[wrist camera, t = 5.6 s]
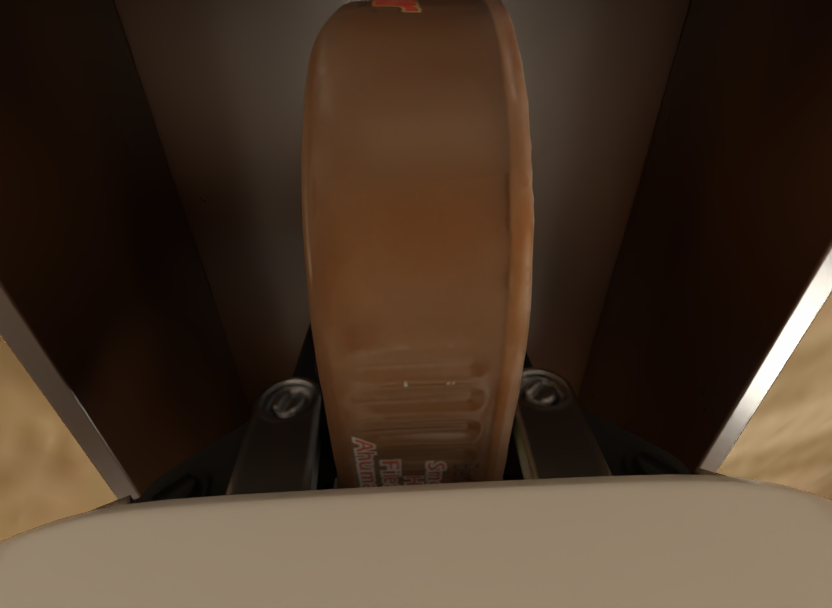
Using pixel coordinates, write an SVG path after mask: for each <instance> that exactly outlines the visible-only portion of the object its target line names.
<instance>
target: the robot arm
mask: <svg viewBox="0 0 832 608" xmlns="http://www.w3.org/2000/svg"><path fill="white" fill-rule="evenodd" d="M0 608H832V500H830V499H828V498H825V497H822V496H819V495H816V494H813V493H810V492H807V491H803V490H799V489H795V488H791V487H788V486H784V485H780V484H776V483H770V482H764V481H758V480H752V479H747V478H741V477H729V476H725V475H722V474H718V473H715V472H712V471H708V470H705V469H702V468H698V467H696V469H695V470H694V472H692V471H689V470H688V469H687V467H686V466H685V465H684V464H683V463H682V462H681V461H679V460H678V459H677V458H676V457H675V456H673V455H672V454H670V453H668V452H667V451H665V450H664V449H662V448H660V447H658V446H656V445H654V444H652V443H650V442H648V441H646V440H644V439H642V438H640V437H638V436H636V435H634V434H632V433H630V432H628V431H626V430H624V429H622V428H620V427H618V426H616V425H614V424H612V423H610V422H608V421H606V420H604V419H602V418H600V417H599V416H597V415H595V414H593V413H591V412H589V411H587V410H585V409H583V408H582V407H581V405H580V403H579V400H578V398H577V396H576V394H575V391H574V389H573V387H572V386H571V384H570V383H569V382H568V381H567V380H566V379H565V378H564V377H563V376H561V375H559V374H558V373H556V372H554V371H551V370H548V369H545V368H537V367H533V366H532V363H531V361H530V359H529V357H528V355H527V352H526V354H525V360H524V366H523V372H522V379H521V385H520V391H519V397H518V402H517V406H516V410H515V415H514V420H513V425H512V430H511V435H510V440H509V445H508V453H507V460H506V465H505V469H504V474H503V479H502V481H484V482H463V483H443V484H422V485H403V486H383V487H363V488H344V489H338V479H337V470H336V466H335V461H334V457H333V451H332V445H331V439H330V434H329V429H328V424H327V417H326V412H325V406H324V400H323V394H322V389H321V384H320V379H319V374H318V368H317V362H316V355H315V348H314V342H313V335H312V329H311V323H310V325H309V327H308V330H307V333H306V336H305V340H304V343H303V346H302V349H301V352H300V355H299V358H298V361H297V364H296V367H295V370H294V373H293V376H292V377H289V378H284V379H281V380H279V381H276V382H274V383H272V384H271V385H269V386H267V387H266V388H265V389H264V390H263V391H262V392H261V393H260V394H259V396H258V397H257V399H256V401H255V404H254V407H253V410H252V413H251V416H250V420H249V422H247V423H245V424H244V425H242V426H240V427H239V428H237V429H236V430H234V431H232V432H231V433H229V434H228V435H226V436H224V437H223V438H221V439H219V440H218V441H216V442H215V443H213V444H211V445H210V446H208V447H207V448H205V449H203V450H202V451H200V452H198V453H197V454H195V455H194V456H192V457H190V458H189V459H187V460H185V461H184V462H182V463H181V464H179V465H177V466H176V467H174V468H173V469H171V470H169V471H168V472H166V473H164V474H163V475H162V476H160V477H159V478H158V479H156V480H155V481H154V482H153V483H152V484H151V485H150V486H149V487H148V488H147V489H146V490H145V491H144V492H143V494H142V496H141V497H140V498H137V499H135V500H134V499H133V498H132V496H131V495H129V496H126V497H124V498H121V499H119V500H116V501H114V502H111V503H109V504H106V505H104V506H101V507H98V508H96V509H93V510H91V511H88V512H85V513H81V514H78V515H74V516H70V517H66V518H63V519H59V520H56V521H53V522H50V523H47V524H45V525H42V526H39V527H36V528H34V529H31V530H28V531H25V532H22V533H20V534H17V535H15V536H13V537H11V538H8V539H6V540H4V541H2V542H0Z"/></svg>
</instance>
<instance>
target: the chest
mask: <svg viewBox="0 0 832 608" xmlns="http://www.w3.org/2000/svg"><path fill="white" fill-rule="evenodd" d="M353 1H365V0H0V334H1V336H2V337H3V338H4V340H5V341H6V343H7V344H8V345H9V347H10V348H11V350H12V351H13V352H14V354H15V355H16V357H17V358H18V359H19V361H20V362H21V364H22V365H23V366H24V368H25V369H26V371H27V372H28V373H29V375H30V376H31V378H32V379H33V380H34V382H35V383H36V385H37V386H38V387H39V389H40V390H41V392H42V393H43V395H44V396H45V397H46V399H47V400H48V402H49V403H50V404H51V406H52V407H53V409H54V410H55V411H56V413H57V414H58V416H59V417H60V418H61V420H62V421H63V423H64V424H65V425H66V427H67V428H68V430H69V431H70V432H71V434H72V435H73V437H74V438H75V439H76V441H77V442H78V444H79V445H80V446H81V448H82V449H83V451H84V452H85V453H86V455H87V456H88V458H89V459H90V460H91V462H92V463H93V465H94V466H95V467H96V469H97V470H98V472H99V473H100V474H101V476H102V477H103V479H104V480H105V481H106V483H107V484H108V486H109V487H110V488H111V490H112V491H113V493H114V494H115V495H116V497H117V498H118V500H119V499H121V498H124V497H126V496H129V495H131V496H132V498H133V499H134V500H135V499H137V498H140V497H141V496H142V494H143V492H144V491H145V490H146V489H147V488H148V487H149V486H150V485H151V484H152V483H153V482H154V481H155V480H156V479H158V478H159V477H160V476H162V475H163V474H164V473H166V472H168V471H169V470H171V469H173V468H174V467H176V466H177V465H179V464H181V463H182V462H184V461H185V460H187V459H189V458H190V457H192V456H194V455H195V454H197V453H198V452H200V451H202V450H203V449H205V448H207V447H208V446H210V445H211V444H213V443H215V442H216V441H218V440H219V439H221V438H223V437H224V436H226V435H228V434H229V433H231V432H232V431H234V430H236V429H237V428H239V427H240V426H242V425H244V424H245V423H247V422H249V420H250V416H251V413H252V410H253V407H254V404H255V401H256V399H257V397H258V396H259V394H260V393H261V392H262V391H263V390H264V389H265V388H266V387H267V386H269V385H271V384H272V383H274V382H276V381H279V380H281V379H284V378H289V377H292V376H293V373H294V370H295V367H296V364H297V361H298V358H299V355H300V352H301V349H302V346H303V343H304V340H305V336H306V333H307V330H308V327H309V325H310V323H311V320H310V310H309V300H308V289H307V278H306V267H305V256H304V242H303V226H302V191H301V151H302V131H303V110H304V92H305V85H306V79H307V72H308V65H309V59H310V55H311V51H312V48H313V45H314V42H315V39H316V37H317V36H318V34H319V32H320V30H321V29H322V27H323V25H324V23H325V22H326V21H327V20H328V19H329V18H330V17H331V16H332V15H333V14H334V13H335V12H336V11H337V10H338V9H339V8H340V7H341V6H342V5H344V4H347V3H350V2H353ZM502 2H503V5H504V7H505V8H506V9H507V10H508V13H509V15H510V17H511V20H512V23H513V26H514V30H515V34H516V39H517V43H518V47H519V51H520V55H521V59H522V64H523V71H524V78H525V85H526V91H527V97H528V107H529V125H530V139H531V145H532V150H531V162H532V172H533V175H532V190H533V196H534V240H533V261H532V294H531V312H530V322H529V331H528V339H527V347H526V352H527V355H528V357H529V359H530V361H531V363H532V366H533V367H537V368H545V369H548V370H551V371H554V372H556V373H558V374H559V375H561V376H563V377H564V378H565V379H566V380H567V381H568V382H569V383H570V384H571V386H572V387H573V389H574V391H575V394H576V396H577V398H578V400H579V403H580V405H581V407H582V408H583V409H585V410H587V411H589V412H591V413H593V414H595V415H597V416H599V417H600V418H602V419H604V420H606V421H608V422H610V423H612V424H614V425H616V426H618V427H620V428H622V429H624V430H626V431H628V432H630V433H632V434H634V435H636V436H638V437H640V438H642V439H644V440H646V441H648V442H650V443H652V444H654V445H656V446H658V447H660V448H662V449H664V450H665V451H667V452H668V453H670V454H672V455H673V456H675V457H676V458H677V459H678V460H679V461H681V462H682V463H683V464H684V465H685V466H686V467H687V469H688V470H689V471H692V472H694V470H695V469H696V467H698V468H702V469H705V470H708V471H712V472H715V473H716V472H717V471H718V469H719V467H720V466H721V464H722V463H723V461H724V460H725V458H726V456H727V455H728V453H729V452H730V450H731V449H732V447H733V446H734V444H735V442H736V441H737V439H738V438H739V436H740V435H741V433H742V431H743V430H744V428H745V427H746V425H747V424H748V422H749V420H750V419H751V417H752V416H753V414H754V413H755V411H756V410H757V408H758V406H759V405H760V403H761V402H762V400H763V399H764V397H765V395H766V394H767V392H768V391H769V389H770V388H771V386H772V384H773V383H774V381H775V380H776V378H777V377H778V375H779V373H780V372H781V370H782V369H783V367H784V366H785V364H786V363H787V361H788V359H789V358H790V356H791V355H792V353H793V352H794V350H795V348H796V347H797V345H798V344H799V342H800V341H801V339H802V337H803V336H804V334H805V333H806V331H807V330H808V328H809V327H810V325H811V323H812V322H813V320H814V319H815V317H816V316H817V314H818V312H819V311H820V309H821V308H822V306H823V305H824V303H825V301H826V300H827V298H828V297H829V295H830V294H831V292H832V0H502ZM337 479H338V477H337ZM338 489H340V487H339V482H338Z"/></svg>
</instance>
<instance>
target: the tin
mask: <svg viewBox="0 0 832 608" xmlns="http://www.w3.org/2000/svg"><path fill="white" fill-rule="evenodd" d="M531 150H532V145H531V139H530V125H529V107H528V97H527V91H526V85H525V78H524V71H523V64H522V59H521V55H520V51H519V47H518V43H517V39H516V34H515V30H514V26H513V23H512V20H511V17H510V15H509V13H508V10H507V9H506V8H505V7H504V5H503V2H502V0H365V1H353V2H350V3H347V4H344V5H342V6H341V7H340V8H339V9H338V10H337V11H336V12H335V13H334V14H333V15H332V16H331V17H330V18H329V19H328V20H327V21H326V22H325V23H324V25H323V27H322V29H321V30H320V32H319V34H318V36H317V37H316V39H315V42H314V45H313V48H312V51H311V55H310V59H309V65H308V72H307V79H306V85H305V92H304V110H303V131H302V151H301V191H302V226H303V242H304V256H305V267H306V278H307V289H308V300H309V310H310V320H311V329H312V335H313V342H314V348H315V355H316V362H317V368H318V374H319V379H320V384H321V389H322V394H323V400H324V406H325V412H326V417H327V424H328V429H329V434H330V439H331V445H332V451H333V457H334V461H335V466H336V470H337V477H338V482H339V487H340V489H344V488H363V487H383V486H403V485H422V484H443V483H463V482H484V481H502V479H503V474H504V469H505V465H506V460H507V453H508V445H509V440H510V435H511V430H512V425H513V420H514V415H515V410H516V406H517V402H518V397H519V391H520V385H521V379H522V372H523V366H524V360H525V354H526V347H527V339H528V331H529V322H530V312H531V294H532V261H533V240H534V196H533V190H532V175H533V172H532V162H531Z"/></svg>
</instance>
